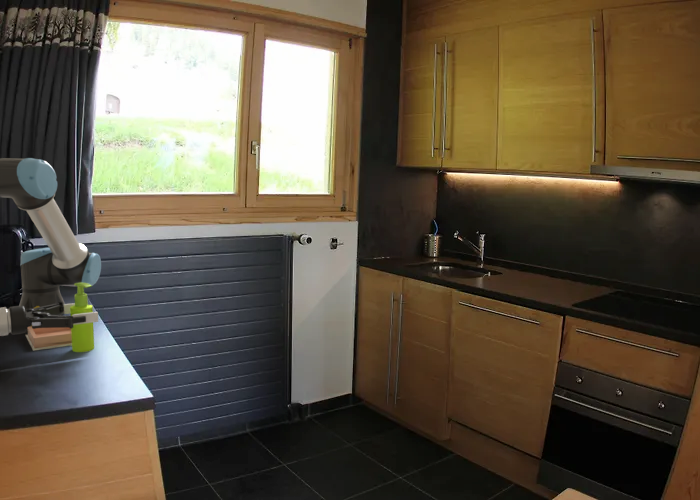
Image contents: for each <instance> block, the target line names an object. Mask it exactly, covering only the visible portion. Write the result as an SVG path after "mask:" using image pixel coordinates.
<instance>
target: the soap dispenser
mask: <svg viewBox="0 0 700 500" xmlns="http://www.w3.org/2000/svg"><path fill="white" fill-rule="evenodd" d="M74 285H75V286H74V287H76V289H77V293H75V294H74V296H73V297H74V303H75V305H74V306H71V307H70V313H69V314H70V315H69V316H72V315H73V314H82V313H91V312H94V311H93V309H94V308H93V306H94V305H92V304H89V301H88V293H85V289H88V288H92V287H93V285H90V284H88V283H81V282H80V283H75V284H74ZM94 329H95V328H94V322H92V323H84V324H76V325H73V328H71V336H72V345H71V351H72V352H75V353H87V352H92V351H93V350H95V336H94V335H95V334H94V331H95V330H94Z"/></svg>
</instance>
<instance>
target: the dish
mask: <svg viewBox="0 0 700 500" xmlns="http://www.w3.org/2000/svg"><path fill="white" fill-rule="evenodd" d="M27 335H28V337H29V339H30V341H31V343H32V345H33V347H34V348H41V347H48V346H55V345H62V344H70V343H72V336H71V328H36V329H33V328H32V326H31V325H30V326H27Z"/></svg>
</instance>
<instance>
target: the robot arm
mask: <svg viewBox="0 0 700 500" xmlns="http://www.w3.org/2000/svg"><path fill="white" fill-rule="evenodd" d="M57 189H58V181H57V173H56V171H55V169H54V168H53V166H52V165H51V164H50V163H48V162H47V161H46V160H43V159H40V158H39V159H38V158H33V157H26V158H9V157H7V158H5V157H4V158H3V157H1V158H0V198H3V199H4V198H8V199H12V200H13V202H14V204H15V206H16V207H17V208H18V209H20V210H23V211H26V212H27V214H28V216H29V217H30V219H31V221H32V222H33V223H34V226H35V227H36V229H37V230H38V232H39V234H40V236H41V237H42V239H43V240H44V242H45V244H46V245H47V246H48V247H43V248H41V247H40V248H36V249H31V250H30V249H29V250H26V251H24V252H22V253H21V255H20V273H21V274H20V275H21V288H22V294H21V298H20V302H19V305H15V306H10V307H8V308H7V307H6V306H4V307H0V337H4V336H9V334H10V335H13V336H14V335H21V334H26V333H27V332H28V327H29V326H31V325H32V328H33V329H36V328H73V325H76V324H84V323H92V322H93V323H98V322H99V312H98V311H93V312H91V313H82V314H73V315H72V316H71V315H69V314H70V307H71V306H74V305H75V302H74V303H73V302H72V303H65V301H64V298H63V296H62V294H61V291H60V286H61V287H63V286H65V287H76V286H75V285H74V284H75V283H80V282H81V283H88V284H90V285H92V286H94V285H95V284H97V282H98V280H99V278H100V277H101V276H100V275H101V271H102V260H101V256H100V254H98V253H95V252H90V251H89V249H88V248H87V247H86V246H85V244H84V243H82V242H78V239H77V237H76V236H75V234H74V233H73V231H72V229H71V227H70V225H69V224H68V222H67V220H66V218H65V217H64V215H63V212H62V210H61V209H60V207H59V206H58V204H57V201H56V200H55V199H54V197H55V196H56V192H57ZM36 306H39V307H38V308H35V307H36ZM67 314H68V315H67Z"/></svg>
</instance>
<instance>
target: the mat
mask: <svg viewBox="0 0 700 500" xmlns="http://www.w3.org/2000/svg"><path fill="white" fill-rule="evenodd" d="M25 337H26V339H27V341H28V344H29V345H30V347H31V349H32V351H39V350H47V349H48V350H49V349H56V348H61V347H62V348H63V347H68V346H72V343H70V344H62V345H55V346H48V347H41V348H34V347H33V345H32V343H31V341H30V339H29V337H28V334H25Z"/></svg>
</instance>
